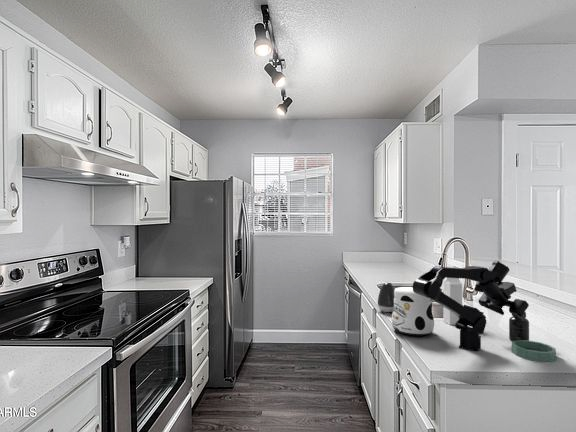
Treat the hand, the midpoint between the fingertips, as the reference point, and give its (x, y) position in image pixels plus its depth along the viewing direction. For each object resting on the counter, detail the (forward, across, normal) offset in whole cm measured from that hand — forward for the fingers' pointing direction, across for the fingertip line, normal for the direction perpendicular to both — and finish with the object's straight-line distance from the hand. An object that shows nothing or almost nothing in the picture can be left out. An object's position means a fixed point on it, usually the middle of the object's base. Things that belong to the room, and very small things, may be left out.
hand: (513, 317), depth 146 cm
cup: (+3, -12, +11) cm, 17 cm away
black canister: (-8, +56, +22) cm, 61 cm away
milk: (+4, +29, +10) cm, 31 cm away
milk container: (-15, +22, +29) cm, 39 cm away
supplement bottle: (+9, 0, +5) cm, 11 cm away
